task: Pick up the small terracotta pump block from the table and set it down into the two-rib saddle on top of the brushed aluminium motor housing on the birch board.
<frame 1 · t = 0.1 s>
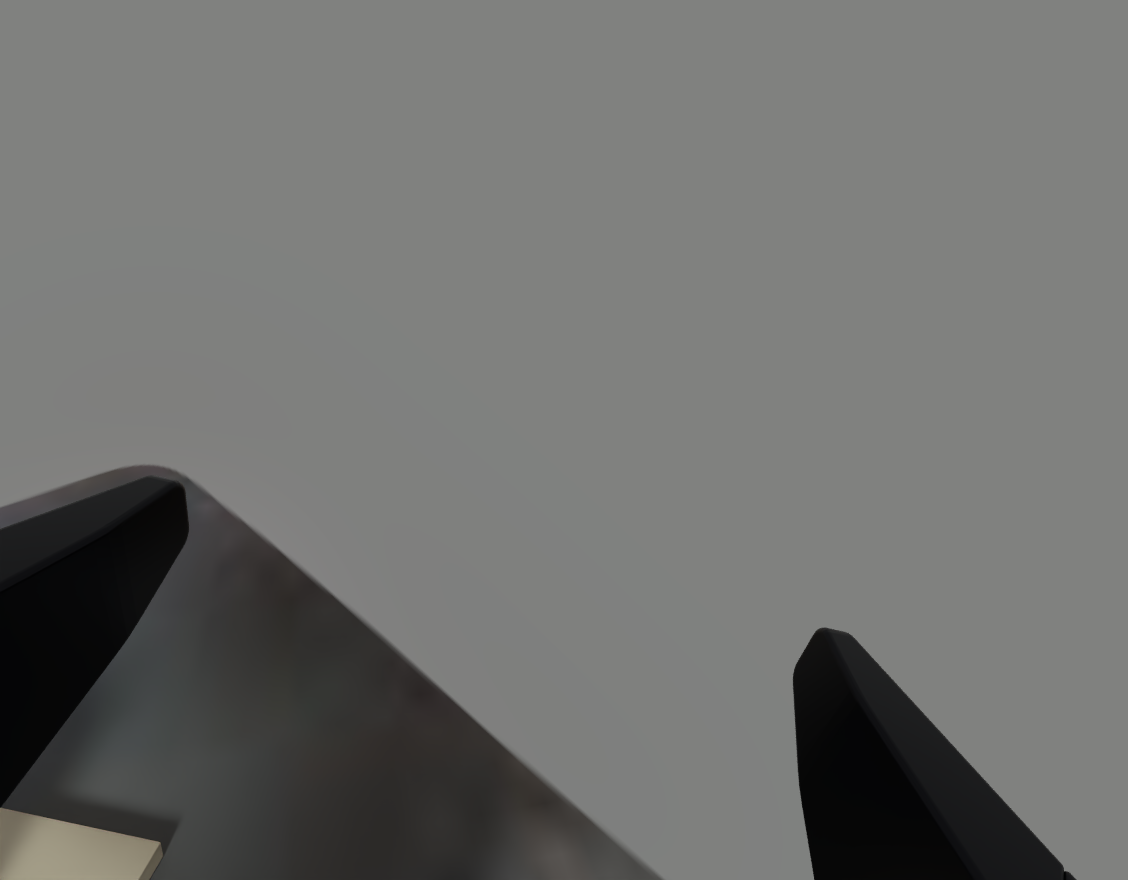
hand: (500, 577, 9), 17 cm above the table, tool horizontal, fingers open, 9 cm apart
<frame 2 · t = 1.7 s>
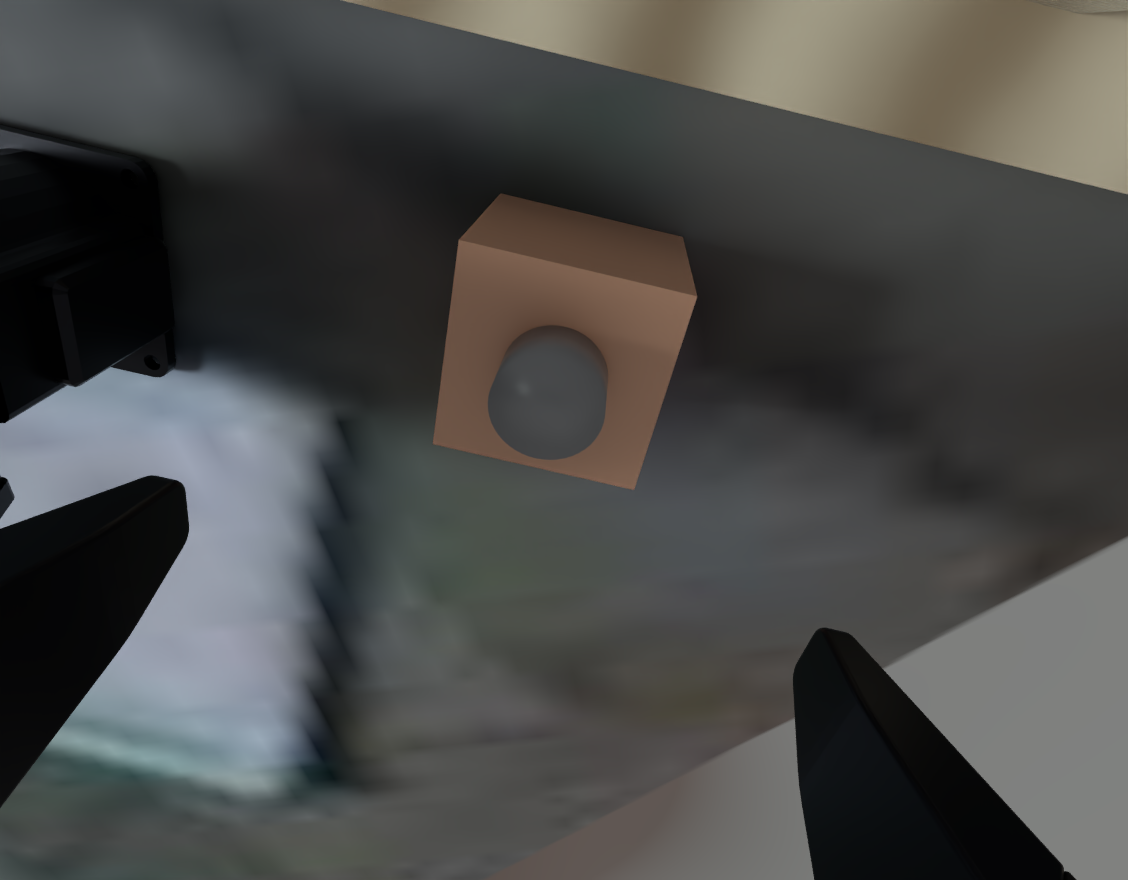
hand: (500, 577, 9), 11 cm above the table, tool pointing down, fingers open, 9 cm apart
pump: (572, 302, 19), on the table
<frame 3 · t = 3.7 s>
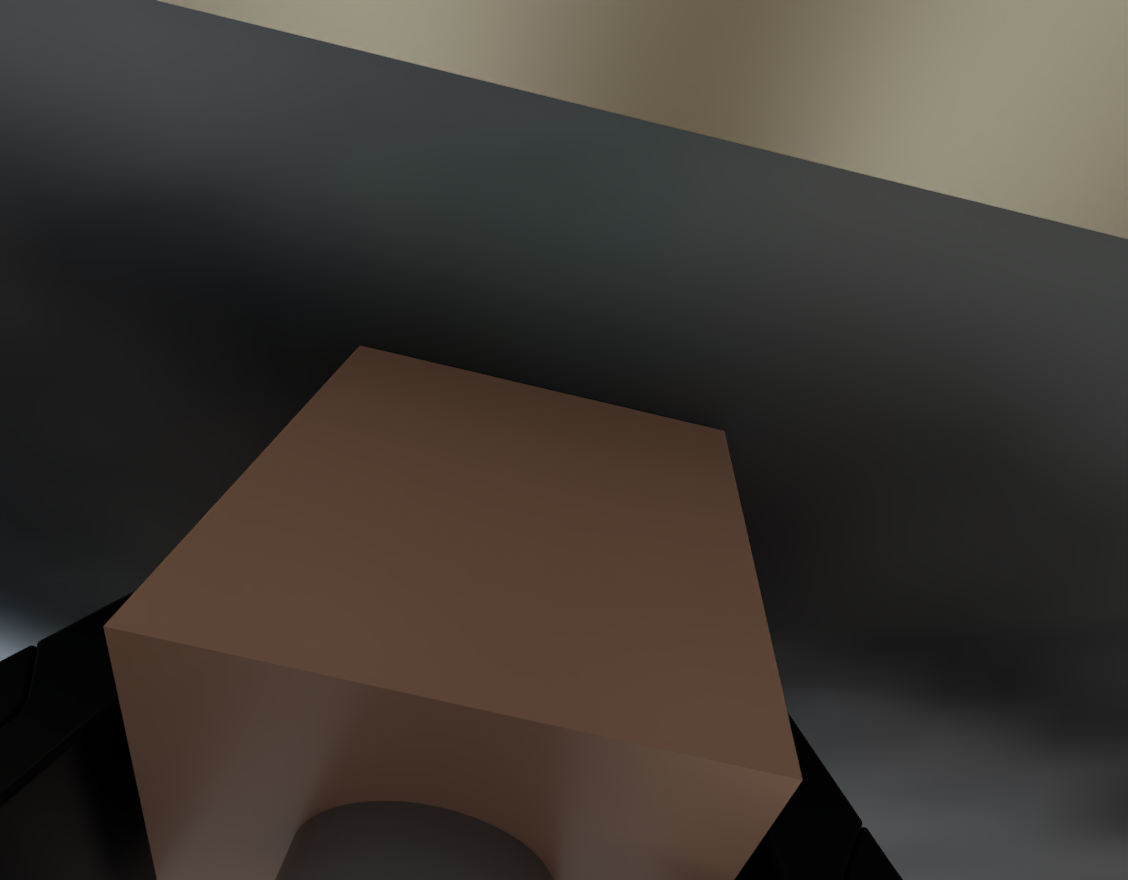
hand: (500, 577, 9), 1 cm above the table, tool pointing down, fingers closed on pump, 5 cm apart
pump: (512, 530, 10), on the table, touching gripper
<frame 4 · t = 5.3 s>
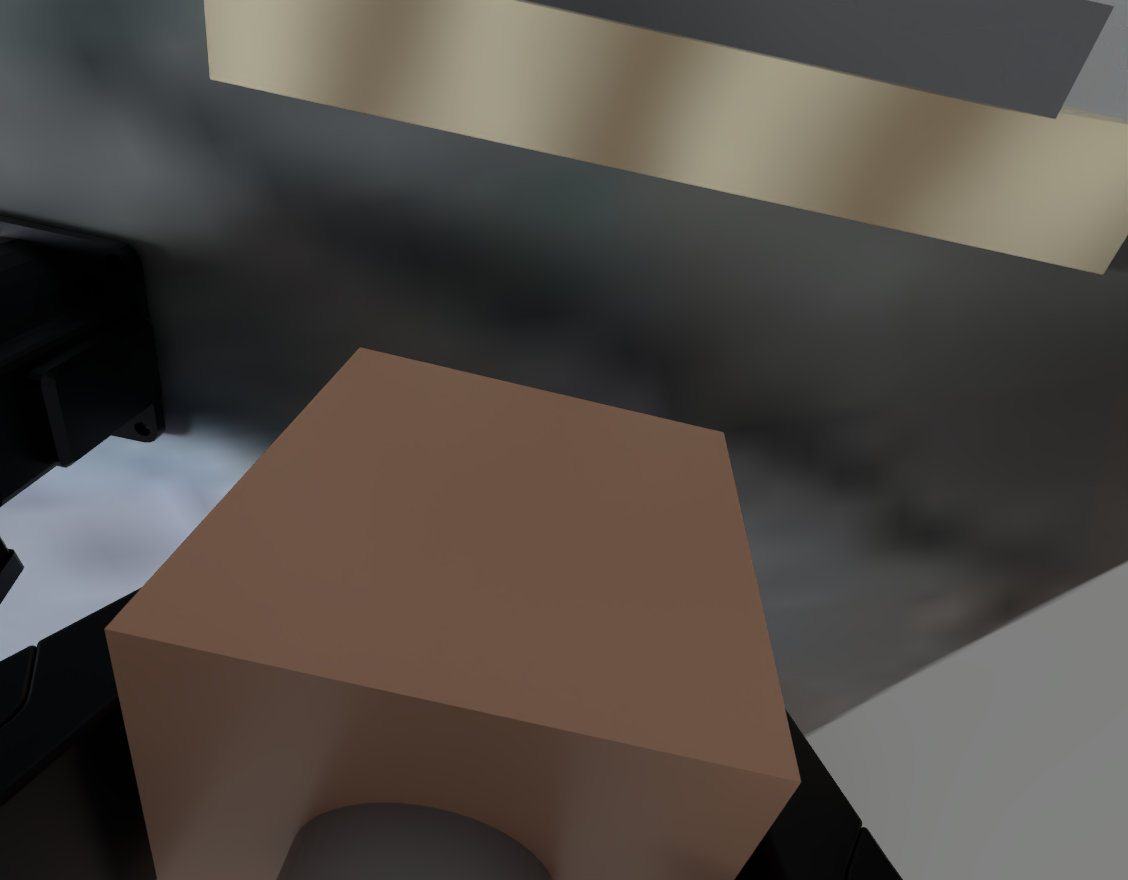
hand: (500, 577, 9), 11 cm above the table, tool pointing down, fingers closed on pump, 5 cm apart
pump: (511, 532, 10), point 10 cm above the table, touching gripper
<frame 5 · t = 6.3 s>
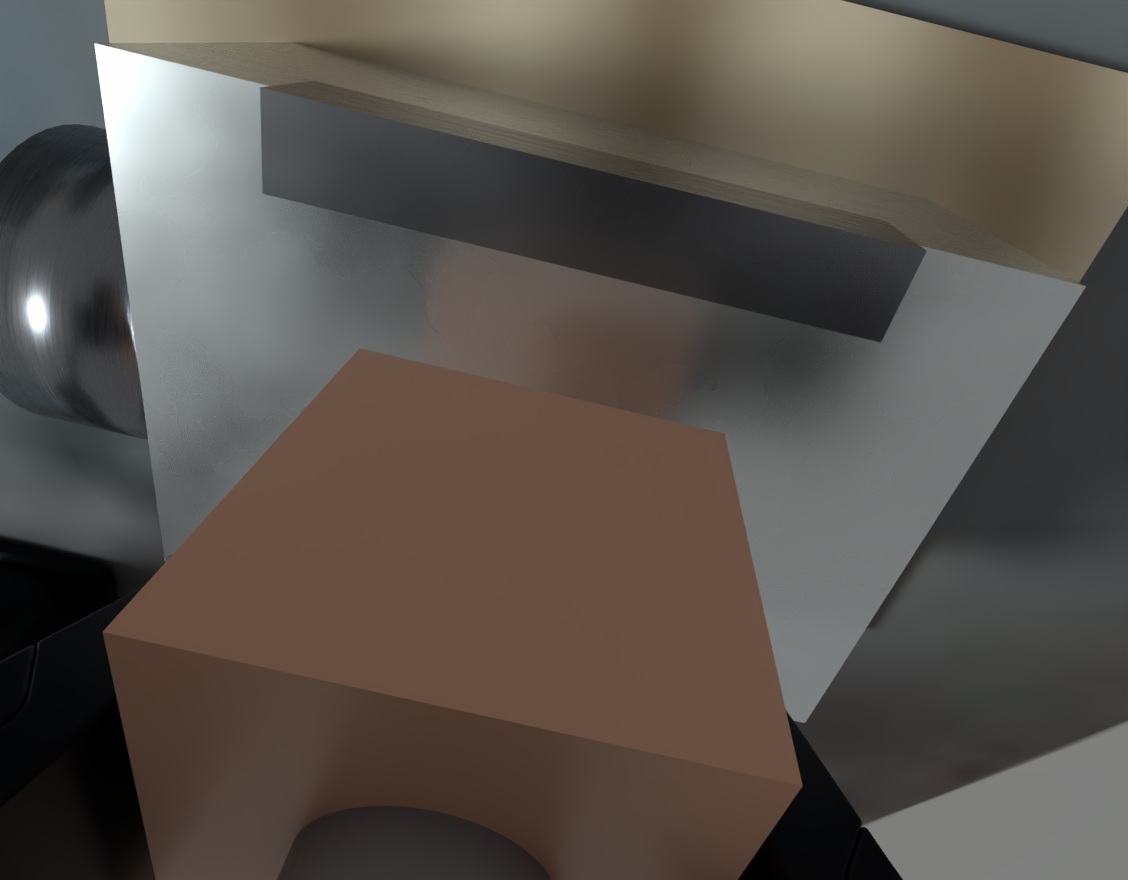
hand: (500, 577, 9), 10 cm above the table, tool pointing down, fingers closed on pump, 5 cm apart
pump: (511, 533, 10), point 9 cm above the table, touching gripper
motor: (476, 386, 14), on the mounting board, point 4 cm above the table
mounting board: (568, 323, 18), on the table
when the fingers open (9 cm above the table, at t = 7.2 s): pump drops 1 cm, resting on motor.
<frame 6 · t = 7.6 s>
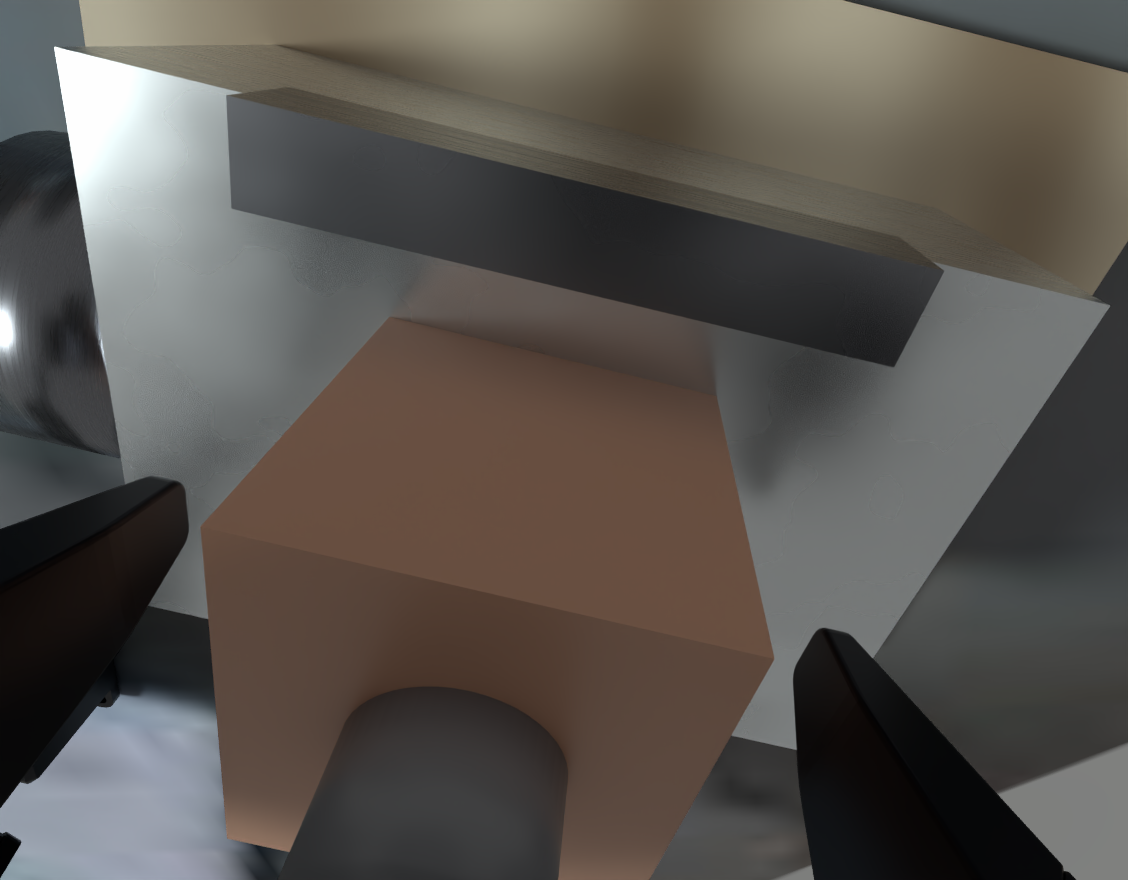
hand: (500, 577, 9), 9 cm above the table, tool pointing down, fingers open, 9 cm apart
pump: (523, 489, 11), point 7 cm above the table, touching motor
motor: (466, 404, 13), on the mounting board, point 4 cm above the table
mounting board: (563, 334, 17), on the table
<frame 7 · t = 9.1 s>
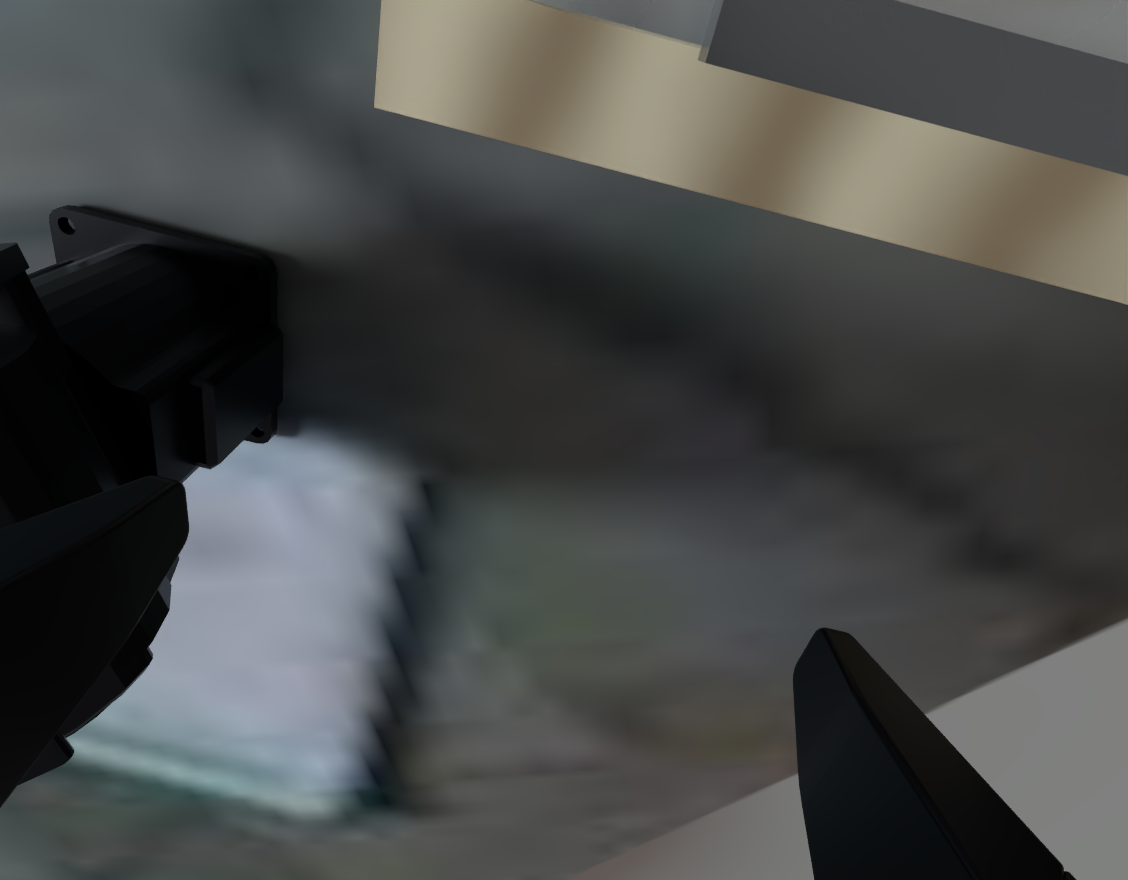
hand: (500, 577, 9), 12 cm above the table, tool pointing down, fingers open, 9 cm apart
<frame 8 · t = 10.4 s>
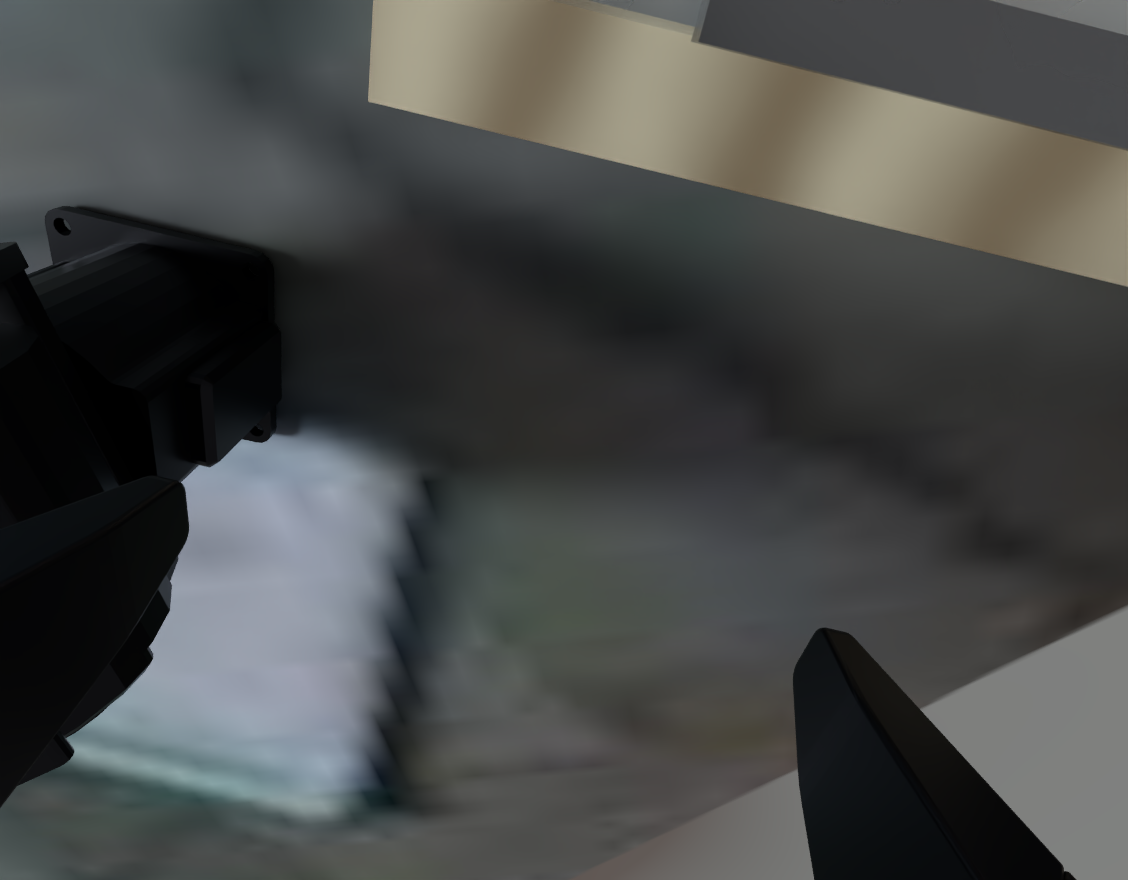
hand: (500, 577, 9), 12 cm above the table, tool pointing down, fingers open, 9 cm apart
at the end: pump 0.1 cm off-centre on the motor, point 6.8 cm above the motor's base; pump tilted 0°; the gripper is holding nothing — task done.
